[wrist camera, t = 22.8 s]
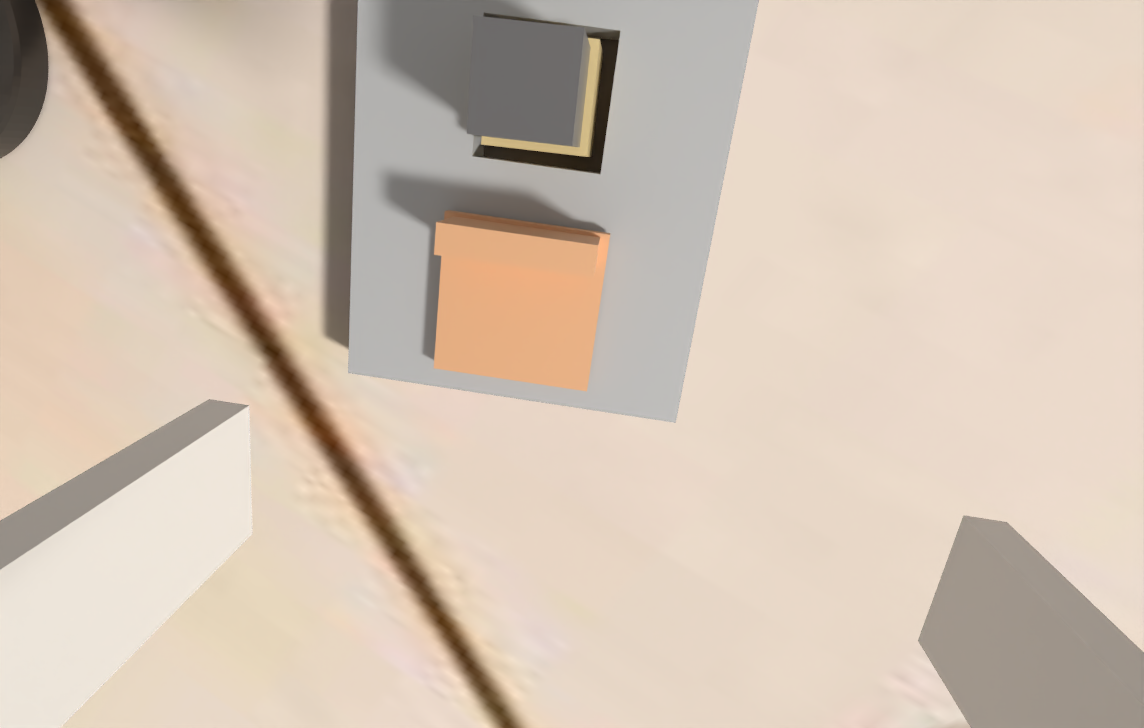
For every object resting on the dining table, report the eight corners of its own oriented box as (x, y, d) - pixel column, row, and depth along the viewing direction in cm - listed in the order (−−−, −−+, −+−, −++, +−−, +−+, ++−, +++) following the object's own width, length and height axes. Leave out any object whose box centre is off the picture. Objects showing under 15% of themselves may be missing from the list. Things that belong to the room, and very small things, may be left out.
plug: (499, 146, 38) (457, 142, 28) (506, 44, 36) (464, 3, 27) (591, 156, 38) (580, 156, 28) (603, 54, 36) (595, 17, 26)
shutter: (437, 364, 39) (415, 388, 35) (448, 209, 36) (426, 216, 32) (587, 386, 38) (583, 413, 34) (610, 233, 35) (608, 242, 31)
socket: (366, 358, 42) (348, 372, 39) (383, -108, 34) (361, -132, 31) (672, 404, 42) (675, 422, 39) (761, -60, 34) (774, -80, 31)
